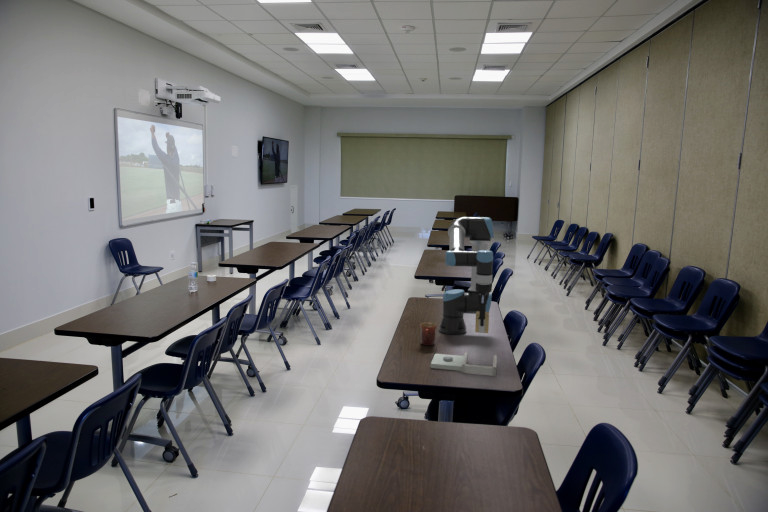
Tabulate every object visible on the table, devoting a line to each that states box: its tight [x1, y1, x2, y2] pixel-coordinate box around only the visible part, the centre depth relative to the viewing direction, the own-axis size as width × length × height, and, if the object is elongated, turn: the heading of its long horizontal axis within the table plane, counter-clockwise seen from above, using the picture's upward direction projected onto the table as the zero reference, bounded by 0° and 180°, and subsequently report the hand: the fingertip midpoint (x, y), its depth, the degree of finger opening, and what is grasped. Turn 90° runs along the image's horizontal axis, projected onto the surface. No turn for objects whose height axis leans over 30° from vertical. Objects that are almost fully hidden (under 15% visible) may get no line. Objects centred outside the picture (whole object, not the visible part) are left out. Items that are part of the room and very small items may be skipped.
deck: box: [430, 352, 498, 377], centre depth 231 cm, size 17×29×4 cm, turn 76°
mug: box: [419, 322, 437, 346], centre depth 260 cm, size 12×9×10 cm
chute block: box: [474, 311, 490, 334], centre depth 241 cm, size 5×6×9 cm
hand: (482, 330), depth 241 cm, fingers closed on chute block, 5 cm apart
